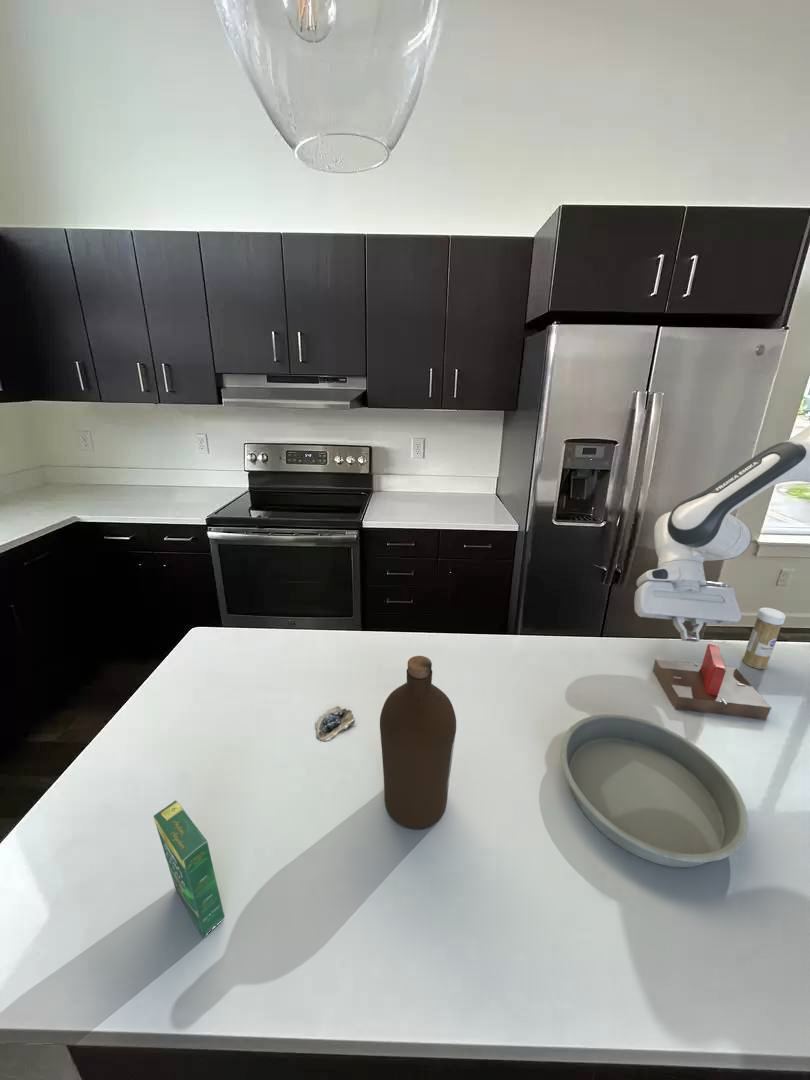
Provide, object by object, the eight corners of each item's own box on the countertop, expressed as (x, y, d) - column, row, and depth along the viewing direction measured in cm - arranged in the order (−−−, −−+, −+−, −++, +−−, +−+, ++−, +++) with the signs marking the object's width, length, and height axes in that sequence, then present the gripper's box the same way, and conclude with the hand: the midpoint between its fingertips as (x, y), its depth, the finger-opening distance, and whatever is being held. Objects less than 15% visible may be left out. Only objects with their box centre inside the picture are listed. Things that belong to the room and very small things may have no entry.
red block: (700, 667, 90) (708, 642, 88) (710, 670, 90) (718, 645, 87) (706, 693, 83) (715, 666, 81) (717, 696, 82) (726, 669, 80)
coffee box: (172, 888, 53) (150, 813, 48) (195, 869, 55) (177, 796, 50) (202, 941, 48) (181, 863, 43) (226, 918, 50) (209, 842, 45)
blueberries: (361, 716, 80) (360, 708, 80) (337, 747, 73) (337, 739, 73) (331, 705, 83) (330, 698, 82) (305, 734, 76) (304, 726, 75)
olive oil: (388, 843, 58) (388, 696, 50) (374, 777, 68) (372, 644, 59) (461, 824, 61) (473, 682, 52) (437, 764, 71) (444, 635, 62)
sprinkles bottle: (761, 672, 94) (781, 619, 89) (738, 661, 98) (755, 609, 93) (770, 665, 96) (790, 613, 91) (747, 655, 100) (764, 604, 95)
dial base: (730, 677, 92) (734, 665, 91) (768, 722, 80) (773, 709, 79) (651, 668, 95) (654, 657, 94) (676, 711, 82) (680, 698, 81)
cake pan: (525, 785, 67) (529, 763, 65) (601, 712, 82) (606, 693, 80) (704, 931, 49) (715, 906, 48) (759, 805, 64) (769, 783, 63)
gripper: (724, 587, 97) (735, 648, 92) (629, 580, 101) (634, 638, 95) (740, 578, 92) (754, 642, 86) (639, 570, 95) (645, 632, 89)
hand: (690, 640), depth 91 cm, fingers closed
